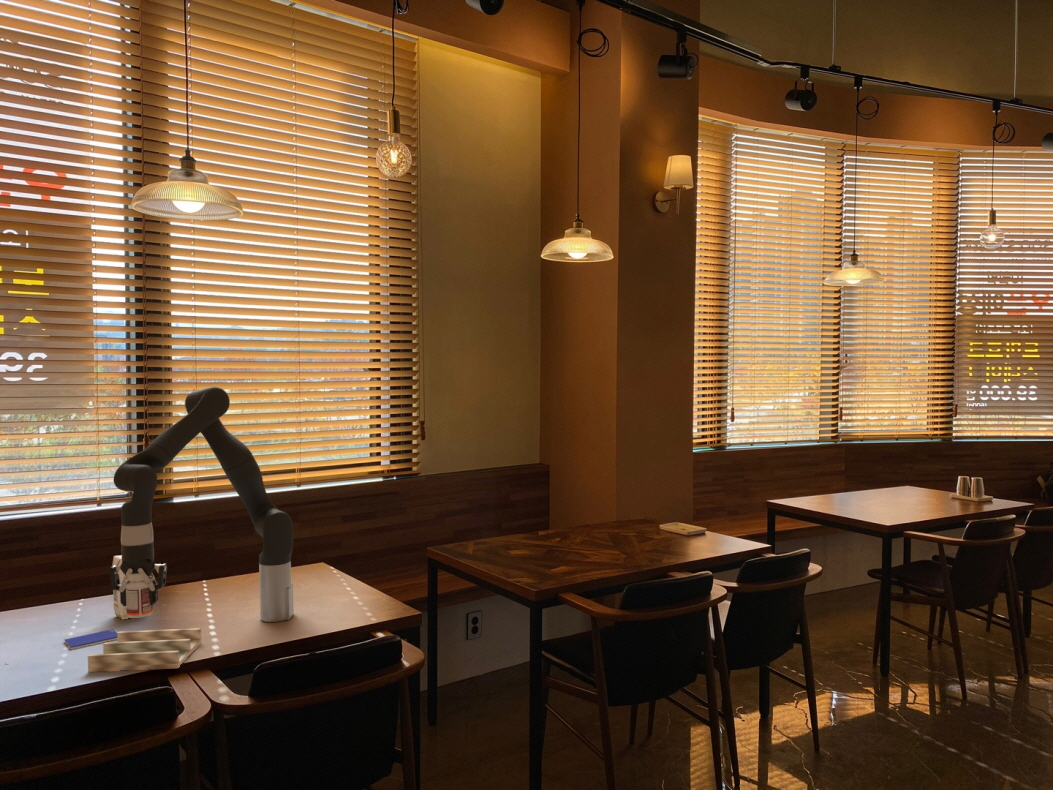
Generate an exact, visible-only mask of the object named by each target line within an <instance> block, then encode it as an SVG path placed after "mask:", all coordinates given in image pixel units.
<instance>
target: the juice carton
mask: <svg viewBox="0 0 1053 790" xmlns="http://www.w3.org/2000/svg"><path fill="white" fill-rule="evenodd" d="M121 564H122V554H121V555H113V559H112V566H114V565H117V566H120V565H121ZM124 577H125V574H124V573H123V572H122V571H121V570H120V573H119V578H120V584H122V581H123V579H124ZM112 592H113V593H112V595H113V611H114V615H115V617H117V616H118V617H119V619H120V618H121V619H120V620H122V619H127V620H129V619H128V618H129V617H128V616H127V610H126V606H123V604H121V602H120V592H119V591H118V590H112ZM118 617H117V618H118Z"/></svg>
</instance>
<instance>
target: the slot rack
mask: <svg viewBox="0 0 1053 790" xmlns="http://www.w3.org/2000/svg"><path fill="white" fill-rule="evenodd" d="M201 644H202V628H201V627H200V628H198V627H197V628H196V627H195V628H177V629H176V628H175V629H172V628H171V629H152V630H151V629H149V630H128V631H127V630H126V631H124V630H123V631H118V632H117V640H116V641H115V642H114V641H109V642H105V643H102V650H103V651H102V652H103V653H98V654H93V653H92V654H88V655H87V673H98V672H97V671H108V672H121V671H120V670H129V671H147V670H148V669H151V670H167V669H171V670H172V669H179V668H180V667H181V666H182V665H183V664H182V663H183V662H184V663H185V662H186V660H188V658H189V657H190V656H191V655H192V654H193V653H194V652H195V651H196V649H197V648H198V647H200V646H201ZM194 650H195V651H194ZM193 651H194V652H193ZM192 652H193V653H192ZM191 653H192V654H191ZM190 654H191V655H190ZM189 655H190V656H189ZM188 656H189V657H188ZM187 657H188V658H187ZM181 664H182V665H181ZM180 665H181V666H180Z"/></svg>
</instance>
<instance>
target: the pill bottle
mask: <svg viewBox="0 0 1053 790" xmlns="http://www.w3.org/2000/svg"><path fill="white" fill-rule="evenodd" d="M127 577H128V581H130V582H128V583H127V585H126V610H127V616H128V617H129V618H131V619H138V618H139V619H140V618H145V617H148V616H150V615H151V614H153V612H154V607H153V606H154V605H150V591H151V590H150V588H149V587H148V584H146V583H145V582H144V577H145V576H144V574H139V573H132V574H128V576H127ZM148 577H150V576H148Z"/></svg>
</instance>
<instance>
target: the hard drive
mask: <svg viewBox="0 0 1053 790" xmlns="http://www.w3.org/2000/svg"><path fill="white" fill-rule="evenodd" d="M117 633H118V632H117V631H116V630H114V629H113V628H111V629H108V630H103V631H98V632H94V633H93V632H92V633H88V634H84V635H83V634H82V635H80V636H79V635H78V636H74V637H70V638H67V639H64V641H65V642H64V641H63V642H64V643H66V644H67V645H68V646H69V647H68V646H67V645H66V644H65V645H66V646H67V647H68V649H69V648H70V649H73V650H75V649H74V648H78V649H80V648H79V647H82V648H85V647H84V646H87V647H89V646H88V645H91V646H94V645H93V644H96V645H98V644H97V643H100V644H102V643H101V642H105V643H107V642H106V641H109V642H112V641H111V640H114V641H116V640H115V639H117ZM70 649H69V650H70Z"/></svg>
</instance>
